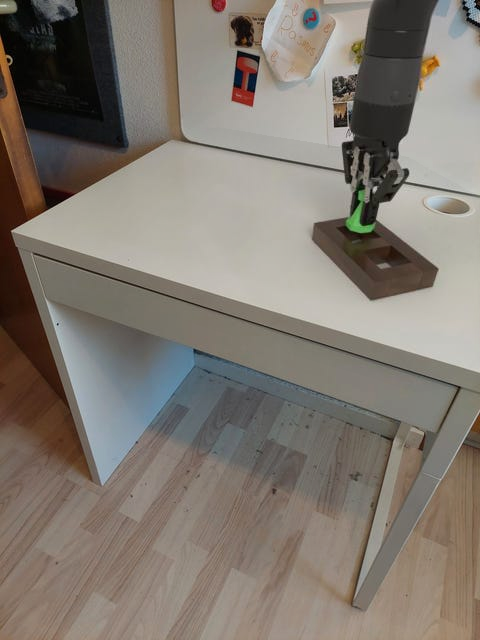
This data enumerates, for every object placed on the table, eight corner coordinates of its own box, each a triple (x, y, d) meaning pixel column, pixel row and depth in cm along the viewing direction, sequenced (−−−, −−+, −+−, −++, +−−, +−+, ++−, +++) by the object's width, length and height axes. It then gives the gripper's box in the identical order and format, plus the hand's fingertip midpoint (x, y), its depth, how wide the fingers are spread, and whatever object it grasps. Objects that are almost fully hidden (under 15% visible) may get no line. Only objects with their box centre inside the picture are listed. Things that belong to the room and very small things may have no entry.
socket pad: (365, 229, 76) (368, 213, 74) (432, 286, 63) (439, 268, 61) (311, 239, 73) (313, 222, 71) (371, 300, 61) (375, 282, 59)
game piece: (358, 217, 71) (365, 180, 67) (380, 227, 68) (388, 189, 64) (339, 224, 69) (345, 187, 65) (361, 236, 66) (368, 197, 62)
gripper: (446, 105, 53) (410, 237, 64) (379, 80, 63) (358, 198, 74) (391, 111, 51) (364, 246, 62) (331, 84, 61) (317, 204, 72)
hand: (361, 219), depth 68 cm, fingers closed on game piece, 2 cm apart
